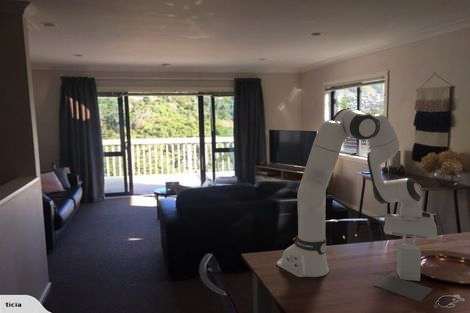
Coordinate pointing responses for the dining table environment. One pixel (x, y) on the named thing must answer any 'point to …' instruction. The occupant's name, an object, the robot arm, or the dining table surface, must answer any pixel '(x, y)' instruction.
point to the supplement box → (408, 261)
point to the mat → (403, 287)
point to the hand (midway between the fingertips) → (408, 245)
